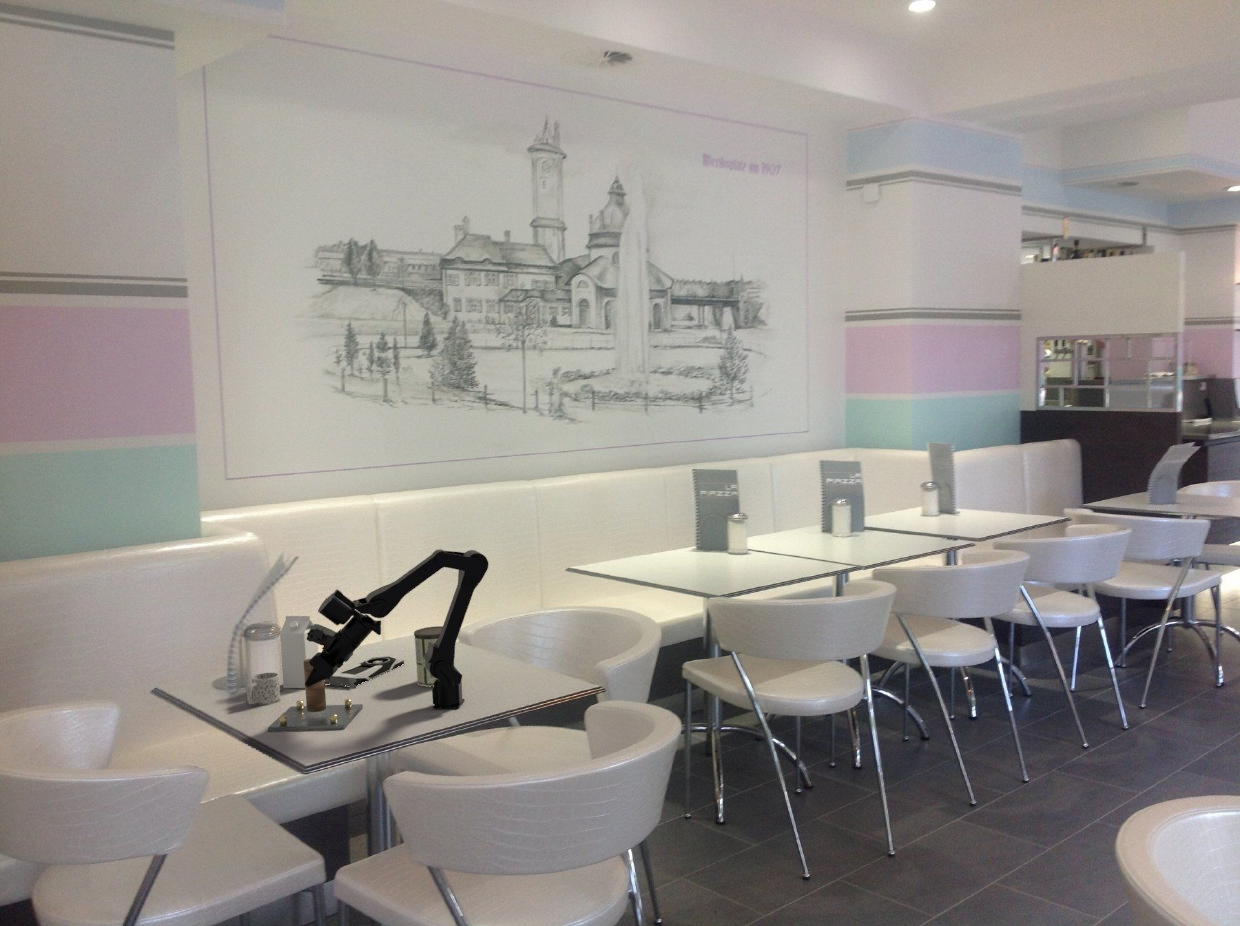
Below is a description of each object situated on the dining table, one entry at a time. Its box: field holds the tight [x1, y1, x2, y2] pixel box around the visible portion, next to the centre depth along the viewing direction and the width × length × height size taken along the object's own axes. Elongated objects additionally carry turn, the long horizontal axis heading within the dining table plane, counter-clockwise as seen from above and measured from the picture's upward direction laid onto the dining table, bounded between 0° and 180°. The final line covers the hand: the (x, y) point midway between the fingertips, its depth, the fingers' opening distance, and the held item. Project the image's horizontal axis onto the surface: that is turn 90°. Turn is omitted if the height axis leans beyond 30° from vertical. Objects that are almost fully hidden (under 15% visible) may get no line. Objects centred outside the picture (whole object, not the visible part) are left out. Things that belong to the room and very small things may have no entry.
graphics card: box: [324, 655, 405, 689], centre depth 294 cm, size 10×3×25 cm
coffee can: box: [413, 625, 455, 687], centre depth 284 cm, size 10×10×14 cm
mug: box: [246, 672, 281, 706], centre depth 271 cm, size 10×7×7 cm
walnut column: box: [303, 659, 327, 712], centre depth 255 cm, size 4×4×12 cm
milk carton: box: [279, 615, 319, 689], centre depth 286 cm, size 7×7×19 cm
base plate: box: [267, 698, 363, 733], centre depth 255 cm, size 18×16×3 cm
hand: (309, 682), depth 255 cm, fingers closed on walnut column, 4 cm apart
